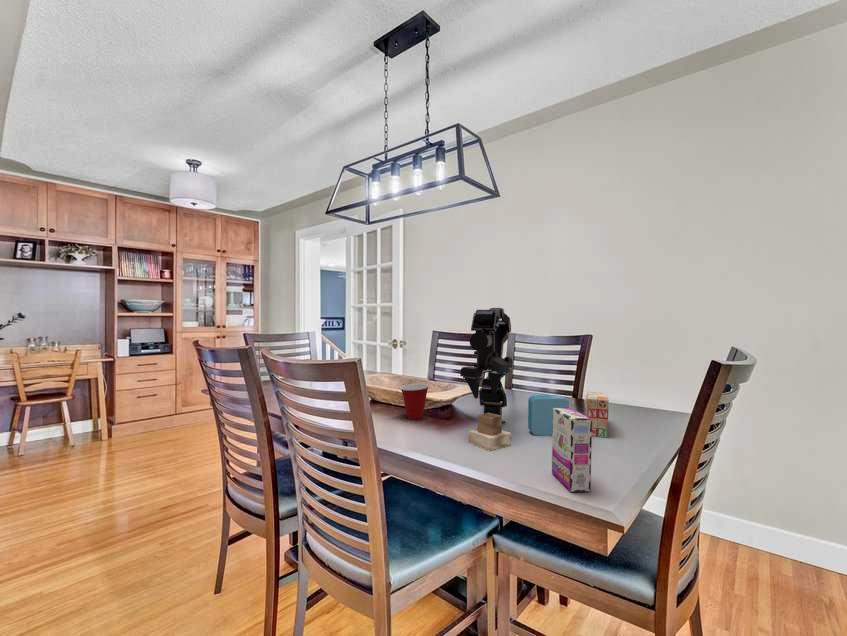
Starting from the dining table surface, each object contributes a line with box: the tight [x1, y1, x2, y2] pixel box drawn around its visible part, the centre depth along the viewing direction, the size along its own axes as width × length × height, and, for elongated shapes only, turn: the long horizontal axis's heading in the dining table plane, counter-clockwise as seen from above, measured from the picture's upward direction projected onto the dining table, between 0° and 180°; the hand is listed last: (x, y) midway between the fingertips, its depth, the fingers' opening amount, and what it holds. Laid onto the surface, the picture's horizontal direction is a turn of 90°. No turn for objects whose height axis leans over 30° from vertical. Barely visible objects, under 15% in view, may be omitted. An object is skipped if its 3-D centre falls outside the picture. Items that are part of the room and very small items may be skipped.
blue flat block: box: [527, 394, 570, 436], centre depth 137 cm, size 12×4×12 cm, turn 91°
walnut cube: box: [477, 413, 503, 436], centre depth 126 cm, size 5×5×5 cm
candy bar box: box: [551, 407, 593, 493], centre depth 98 cm, size 11×5×16 cm, turn 5°
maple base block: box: [467, 428, 512, 452], centre depth 126 cm, size 9×9×4 cm
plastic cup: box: [399, 383, 430, 420], centre depth 156 cm, size 11×11×12 cm
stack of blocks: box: [585, 390, 610, 439], centre depth 143 cm, size 21×6×12 cm, turn 160°
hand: (485, 396), depth 137 cm, fingers open, 9 cm apart
